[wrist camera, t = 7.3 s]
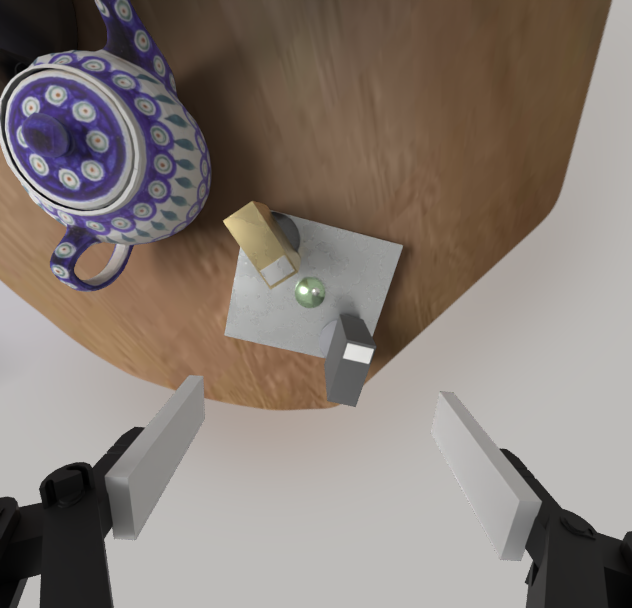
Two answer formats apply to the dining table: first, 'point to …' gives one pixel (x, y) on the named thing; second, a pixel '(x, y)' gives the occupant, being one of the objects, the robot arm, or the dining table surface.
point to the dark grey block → (346, 358)
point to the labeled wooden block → (267, 241)
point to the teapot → (105, 145)
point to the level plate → (313, 288)
